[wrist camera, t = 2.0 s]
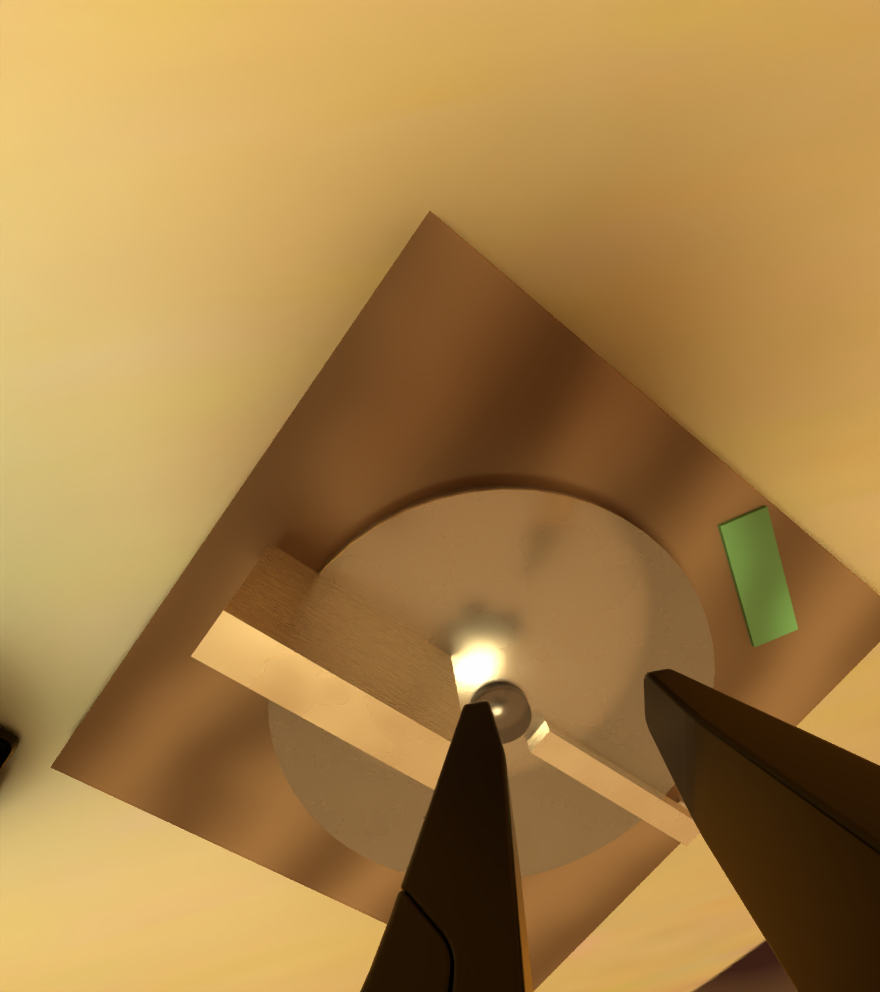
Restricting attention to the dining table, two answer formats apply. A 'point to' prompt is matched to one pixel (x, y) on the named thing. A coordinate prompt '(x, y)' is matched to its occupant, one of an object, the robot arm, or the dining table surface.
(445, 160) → the dining table surface
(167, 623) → the board
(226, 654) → the dial
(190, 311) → the dining table surface
